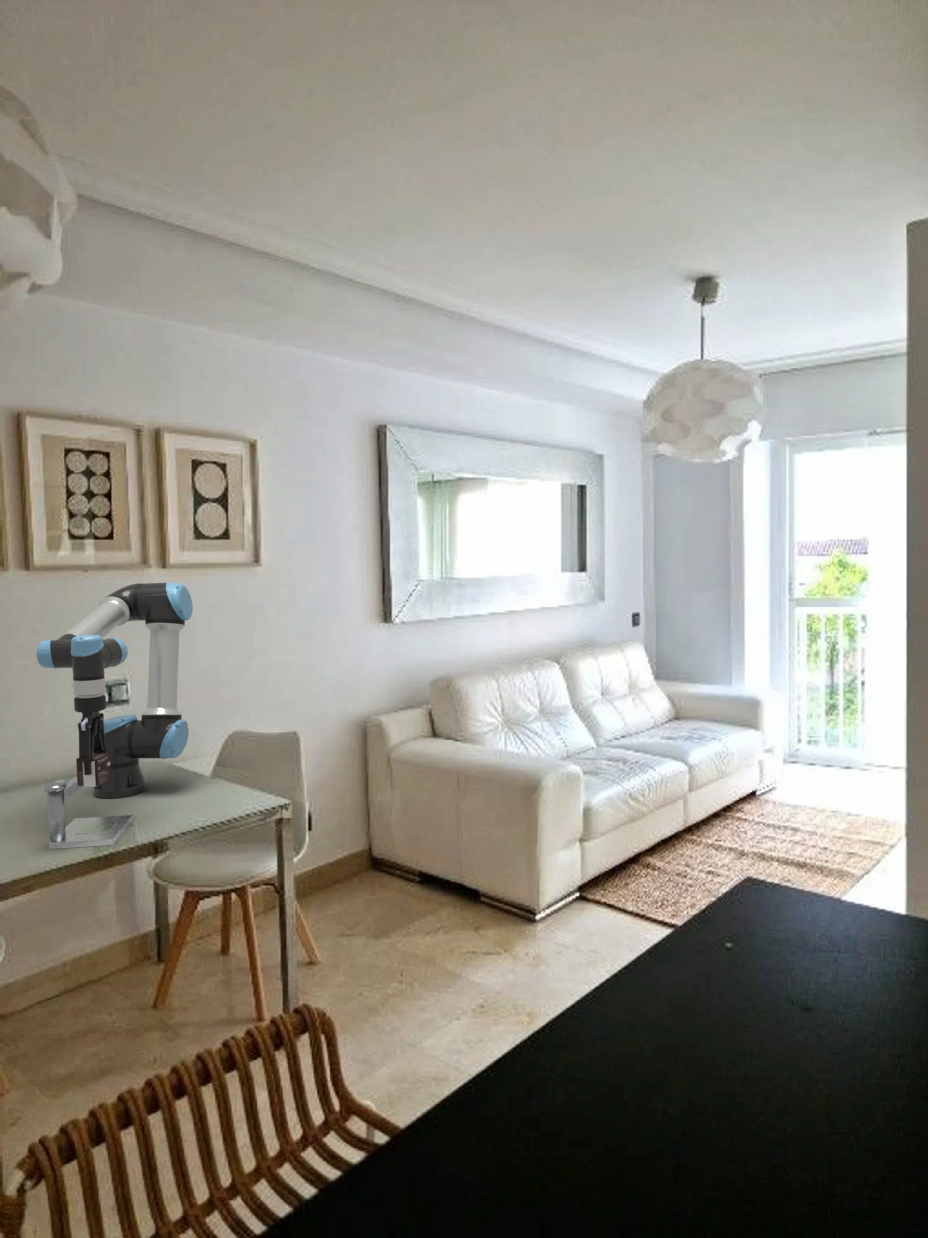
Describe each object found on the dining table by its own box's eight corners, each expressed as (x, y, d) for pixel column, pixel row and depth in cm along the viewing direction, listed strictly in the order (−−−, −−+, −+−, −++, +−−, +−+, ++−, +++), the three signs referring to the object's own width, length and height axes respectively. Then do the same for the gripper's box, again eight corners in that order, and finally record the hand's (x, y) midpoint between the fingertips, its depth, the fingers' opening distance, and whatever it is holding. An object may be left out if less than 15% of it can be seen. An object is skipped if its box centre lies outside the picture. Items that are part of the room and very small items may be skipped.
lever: (63, 808, 209) (61, 787, 208) (41, 809, 208) (40, 788, 208) (91, 783, 232) (90, 764, 231) (72, 784, 231) (71, 765, 231)
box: (98, 787, 216) (96, 759, 215) (76, 786, 217) (75, 758, 216) (112, 780, 222) (110, 753, 221) (91, 780, 223) (89, 752, 222)
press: (74, 824, 229) (71, 773, 228) (132, 820, 231) (130, 770, 230) (47, 849, 210) (44, 793, 208) (112, 845, 211) (109, 790, 210)
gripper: (86, 689, 227) (91, 773, 229) (61, 702, 207) (66, 794, 209) (115, 688, 228) (120, 772, 230) (93, 701, 208) (98, 792, 210)
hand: (94, 782), depth 220 cm, fingers closed on box, 7 cm apart
